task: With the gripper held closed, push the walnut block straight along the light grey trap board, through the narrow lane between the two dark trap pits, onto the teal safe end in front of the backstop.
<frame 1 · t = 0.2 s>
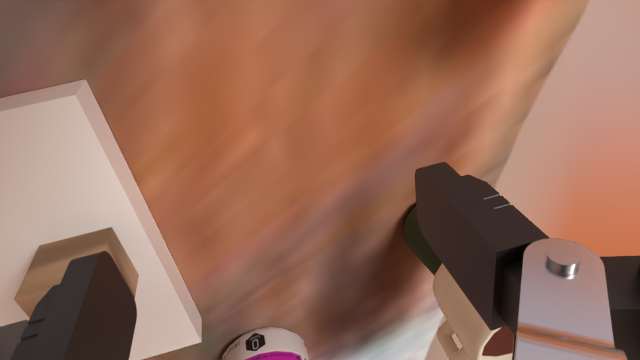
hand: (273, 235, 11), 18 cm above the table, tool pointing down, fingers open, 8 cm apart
walnut block: (91, 260, 28), point 2 cm above the table, touching trap board
character mug: (433, 216, 37), on the table
supplement can: (263, 349, 42), on the table
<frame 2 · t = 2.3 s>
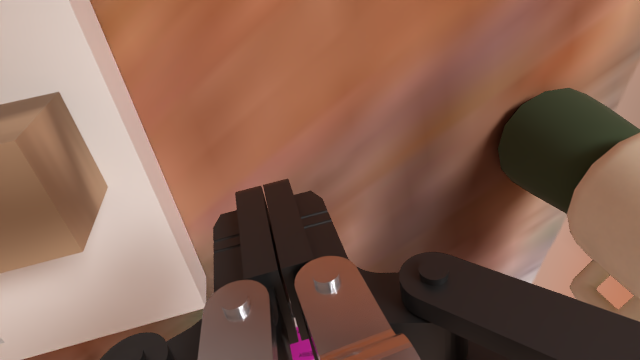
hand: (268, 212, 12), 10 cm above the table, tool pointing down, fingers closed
walnut block: (29, 155, 17), point 2 cm above the table, touching trap board
character mug: (535, 132, 26), on the table
supplement can: (291, 328, 30), on the table
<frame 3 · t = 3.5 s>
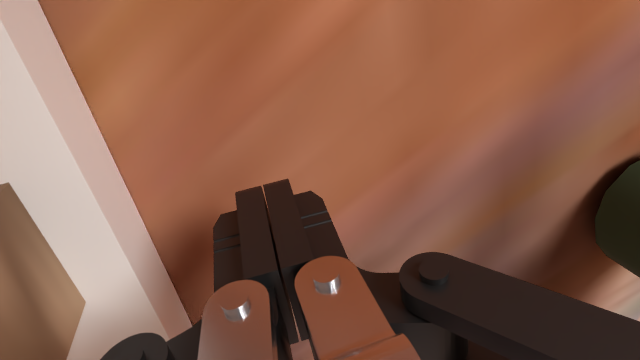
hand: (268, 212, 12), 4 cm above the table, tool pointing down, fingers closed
character mug: (637, 194, 21), on the table
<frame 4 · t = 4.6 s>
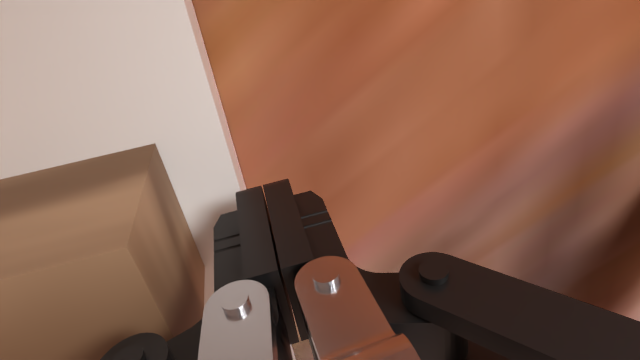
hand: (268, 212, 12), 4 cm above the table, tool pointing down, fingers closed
walnut block: (104, 230, 12), point 3 cm above the table, touching gripper
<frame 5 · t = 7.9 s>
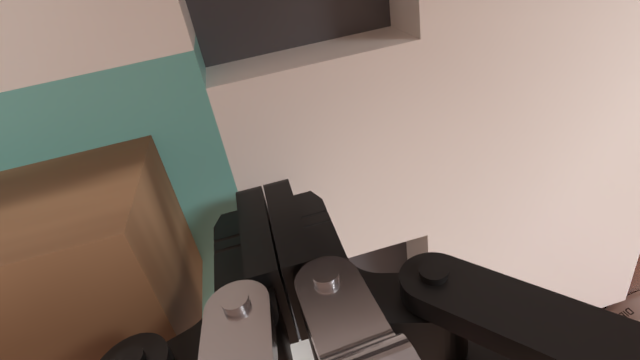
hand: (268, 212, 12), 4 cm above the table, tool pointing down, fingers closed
walnut block: (101, 224, 12), point 2 cm above the table, touching gripper, trap board
trap board: (343, 135, 15), on the table
supplement can: (621, 328, 27), on the table
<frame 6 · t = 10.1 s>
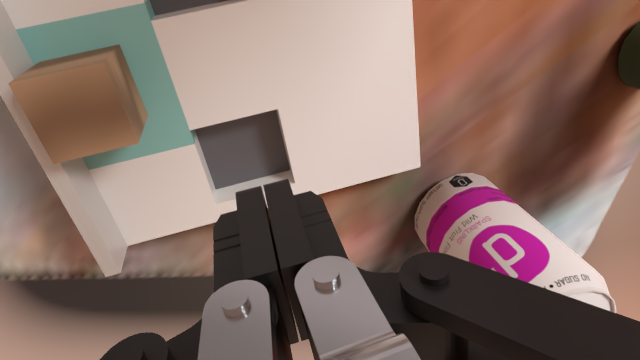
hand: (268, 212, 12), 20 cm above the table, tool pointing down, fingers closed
walnut block: (96, 89, 26), point 2 cm above the table, touching trap board
trap board: (233, 56, 29), on the table
supplement can: (451, 207, 40), on the table
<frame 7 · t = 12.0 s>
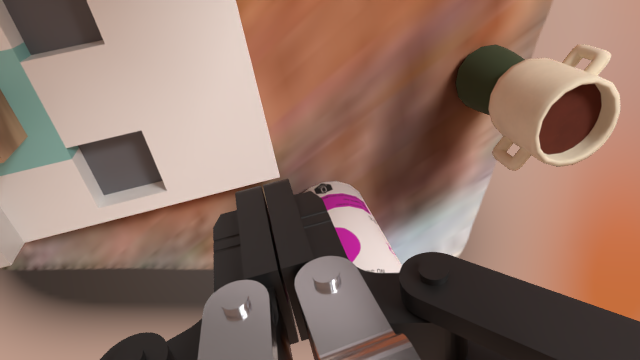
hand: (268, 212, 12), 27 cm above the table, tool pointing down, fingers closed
character mug: (480, 75, 42), on the table
trap board: (104, 85, 35), on the table
supplement can: (325, 210, 46), on the table
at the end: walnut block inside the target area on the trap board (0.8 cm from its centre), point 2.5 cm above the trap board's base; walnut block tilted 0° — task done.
